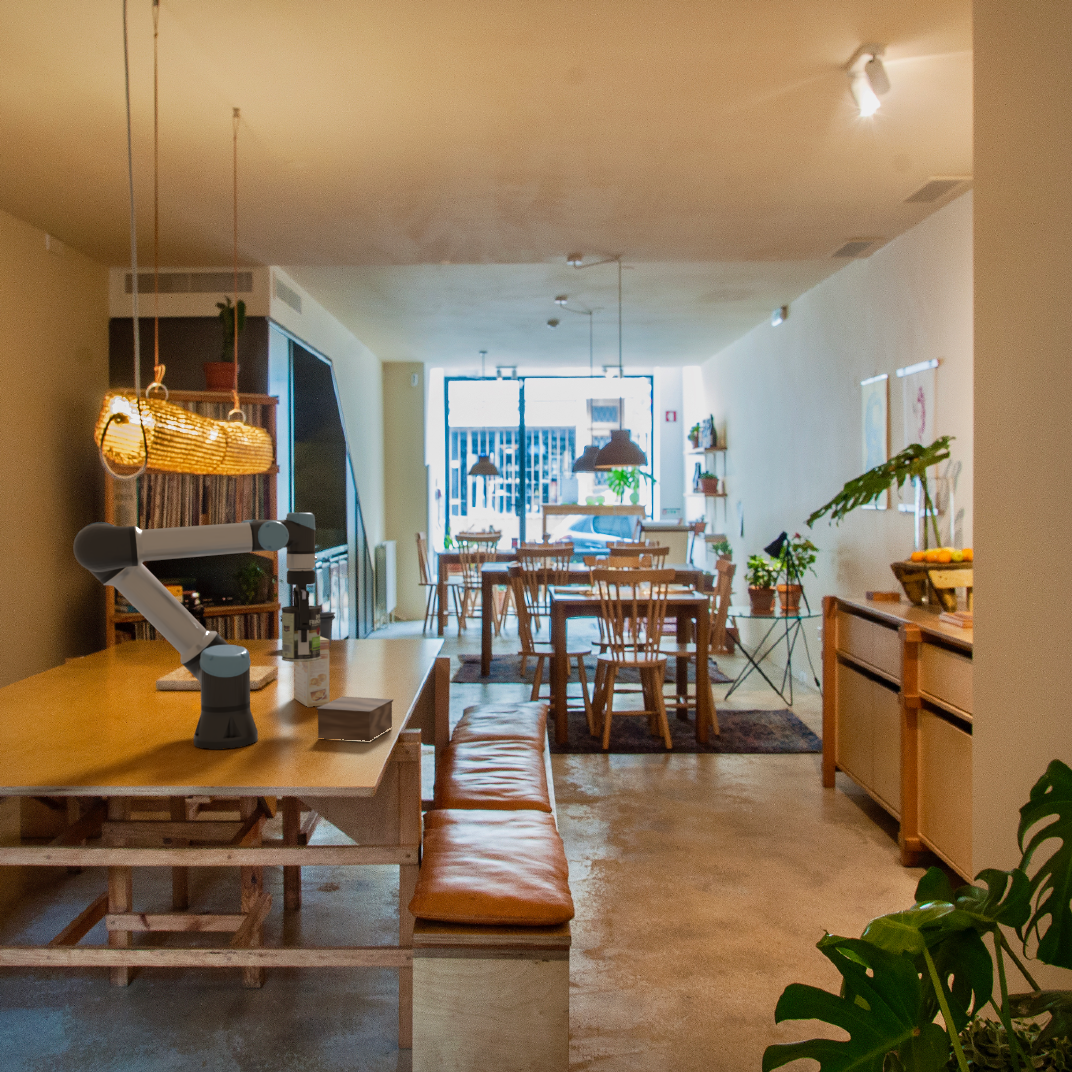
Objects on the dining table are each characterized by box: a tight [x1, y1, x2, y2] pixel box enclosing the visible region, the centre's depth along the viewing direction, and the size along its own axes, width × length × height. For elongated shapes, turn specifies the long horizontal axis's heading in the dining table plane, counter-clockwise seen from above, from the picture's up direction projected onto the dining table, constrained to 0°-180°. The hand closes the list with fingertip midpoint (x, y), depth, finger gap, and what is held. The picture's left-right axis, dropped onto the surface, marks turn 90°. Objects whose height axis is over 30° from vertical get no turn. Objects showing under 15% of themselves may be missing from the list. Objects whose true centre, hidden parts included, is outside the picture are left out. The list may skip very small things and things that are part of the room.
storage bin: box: [279, 611, 336, 648], centre depth 379 cm, size 21×16×14 cm
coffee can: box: [281, 605, 322, 663], centre depth 251 cm, size 10×10×14 cm
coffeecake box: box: [293, 636, 331, 708], centre depth 277 cm, size 15×7×20 cm, turn 30°
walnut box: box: [315, 696, 394, 741], centre depth 238 cm, size 15×15×8 cm
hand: (301, 651), depth 251 cm, fingers closed on coffee can, 10 cm apart
